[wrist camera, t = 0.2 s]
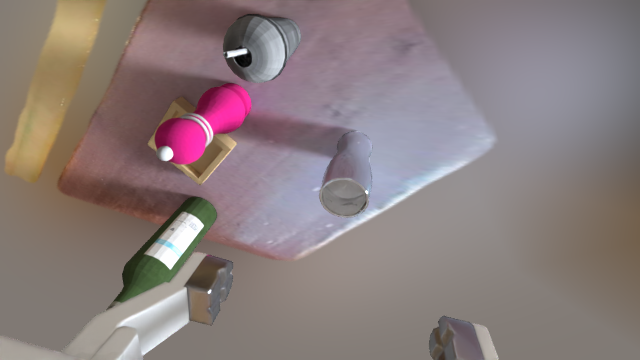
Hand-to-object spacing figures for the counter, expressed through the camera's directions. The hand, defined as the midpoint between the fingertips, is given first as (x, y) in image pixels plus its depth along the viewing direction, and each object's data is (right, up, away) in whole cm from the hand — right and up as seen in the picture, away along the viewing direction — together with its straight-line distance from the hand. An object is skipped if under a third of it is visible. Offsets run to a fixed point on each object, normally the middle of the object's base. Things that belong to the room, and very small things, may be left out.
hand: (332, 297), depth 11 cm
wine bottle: (-28, -2, +56) cm, 62 cm away
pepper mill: (-15, +18, +39) cm, 46 cm away
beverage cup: (-5, +26, +32) cm, 41 cm away
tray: (-25, +12, +46) cm, 53 cm away
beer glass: (+6, +10, +40) cm, 41 cm away
